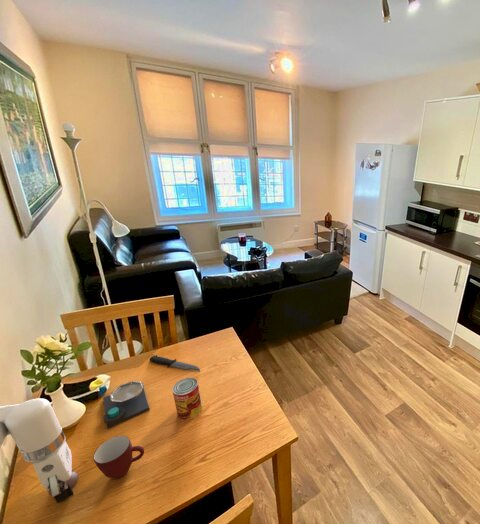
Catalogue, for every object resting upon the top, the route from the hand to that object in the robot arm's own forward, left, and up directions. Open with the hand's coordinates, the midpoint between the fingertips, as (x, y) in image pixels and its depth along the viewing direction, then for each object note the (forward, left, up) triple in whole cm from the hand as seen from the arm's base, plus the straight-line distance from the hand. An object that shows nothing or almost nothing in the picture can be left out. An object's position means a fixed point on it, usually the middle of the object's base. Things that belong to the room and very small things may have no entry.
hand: (65, 487), depth 79 cm
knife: (+35, +34, -1) cm, 48 cm away
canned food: (+33, +6, -1) cm, 34 cm away
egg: (0, 0, -1) cm, 1 cm away
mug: (+13, -4, -1) cm, 14 cm away
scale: (+16, +22, -1) cm, 28 cm away
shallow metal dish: (+17, +25, +2) cm, 30 cm away
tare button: (+13, +18, +2) cm, 22 cm away
